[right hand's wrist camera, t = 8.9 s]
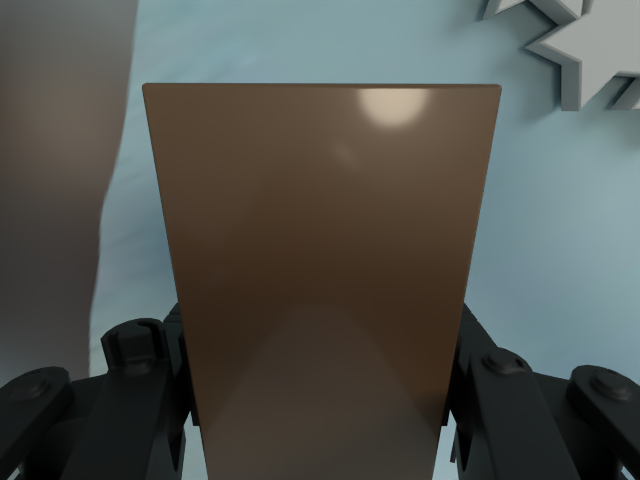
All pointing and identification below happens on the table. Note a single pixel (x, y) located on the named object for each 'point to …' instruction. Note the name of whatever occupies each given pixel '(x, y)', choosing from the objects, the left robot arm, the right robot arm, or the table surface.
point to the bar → (320, 266)
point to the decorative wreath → (588, 46)
